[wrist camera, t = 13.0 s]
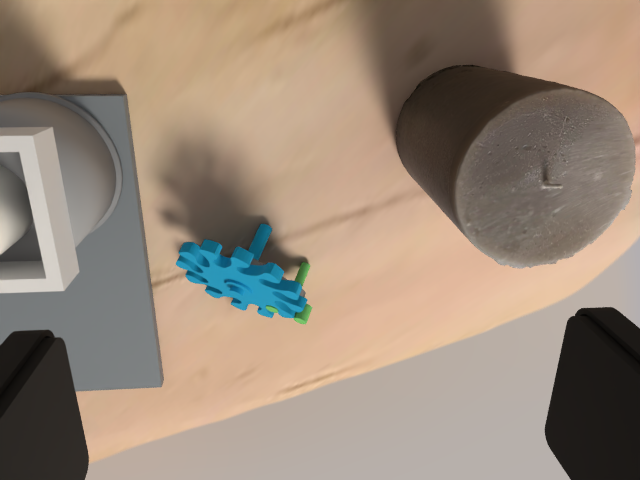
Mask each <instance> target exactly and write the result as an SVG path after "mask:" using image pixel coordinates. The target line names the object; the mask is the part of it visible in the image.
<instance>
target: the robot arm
mask: <svg viewBox="0 0 640 480" xmlns="http://www.w3.org/2000/svg"><path fill="white" fill-rule="evenodd" d="M545 436H546V440H547V443H548V445H549V447H550V449H551V451H552V452H553V454H554V455H555V457H556V458H557V460H558V461H559V463H560V464H561V465H562V467H563V469H564V470H565V471H566V473H567V474H568V476H569V477H570V479H571V480H640V328H638V327H637V326H636V325H635V324H634V323H632V322H631V321H630V320H629V319H627V318H626V317H625V316H624V315H623V314H621V313H620V312H619V311H617V310H616V309H614V308H612V307H603V308H581V309H580V310H578V311H577V313H576V314H575V316H572V317H570V318H569V320H568V322H567V325H566V330H565V335H564V339H563V344H562V349H561V354H560V358H559V363H558V368H557V373H556V377H555V382H554V387H553V392H552V396H551V401H550V406H549V411H548V416H547V420H546V425H545ZM88 463H89V456H88V450H87V445H86V440H85V435H84V431H83V426H82V421H81V416H80V411H79V407H78V402H77V397H76V392H75V388H74V383H73V378H72V373H71V369H70V364H69V359H68V354H67V349H66V345H65V342H64V340H63V338H61V337H55V336H54V334H53V332H52V331H50V330H25V331H13V332H12V333H11V334H10V335H9V336H8V337H7V338H6V339H5V340H4V342H3V343H2V344H1V345H0V480H85V477H86V474H87V470H88Z"/></svg>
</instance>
